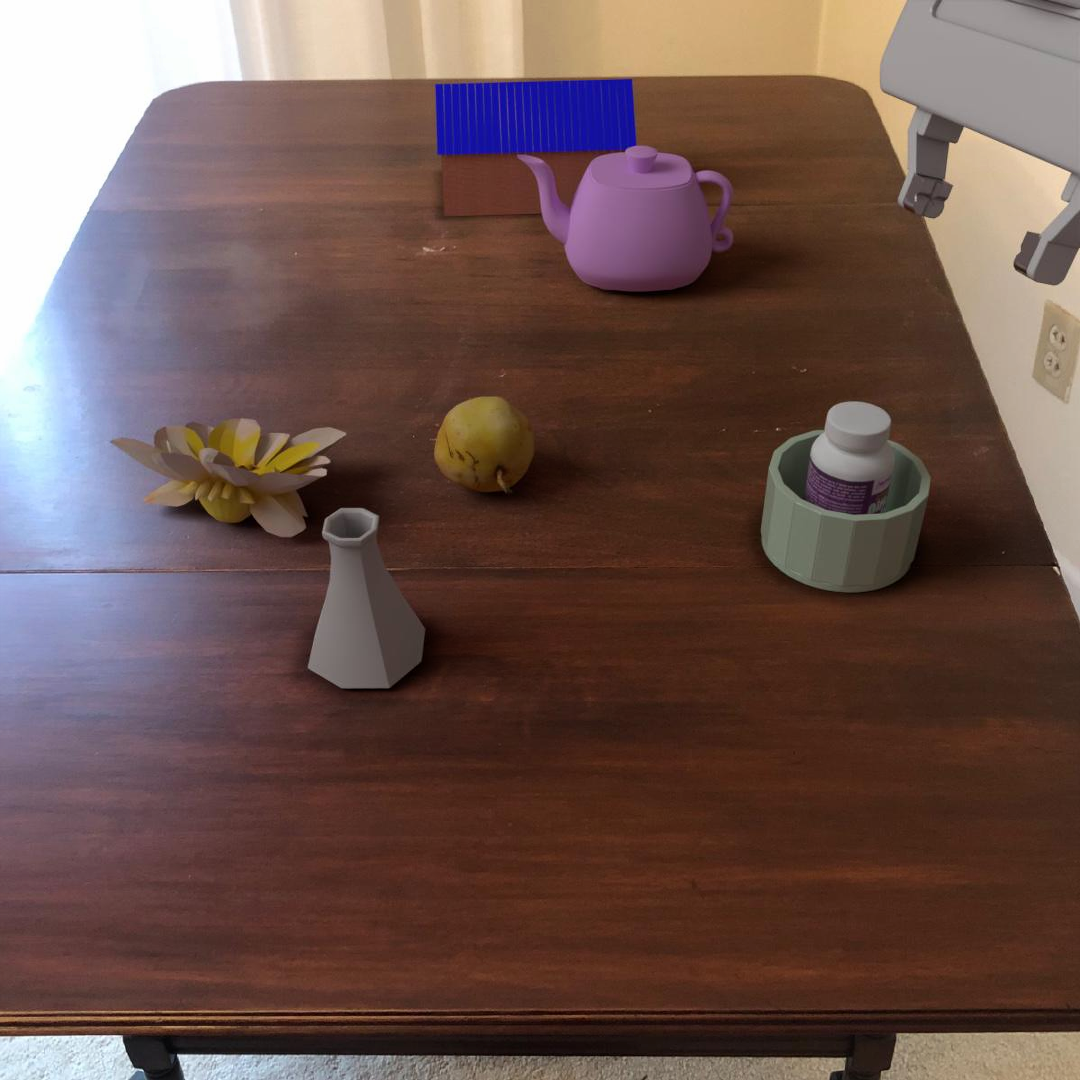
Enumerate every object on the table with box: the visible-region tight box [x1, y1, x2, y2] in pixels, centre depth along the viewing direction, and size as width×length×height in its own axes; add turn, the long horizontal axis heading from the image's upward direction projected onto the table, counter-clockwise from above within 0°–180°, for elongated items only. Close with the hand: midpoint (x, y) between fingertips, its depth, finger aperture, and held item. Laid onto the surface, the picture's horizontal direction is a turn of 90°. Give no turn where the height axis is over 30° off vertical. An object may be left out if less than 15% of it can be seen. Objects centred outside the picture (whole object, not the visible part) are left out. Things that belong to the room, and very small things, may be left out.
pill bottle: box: [804, 400, 895, 515], centre depth 80 cm, size 5×5×10 cm
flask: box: [307, 507, 426, 689], centre depth 72 cm, size 7×7×10 cm
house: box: [434, 78, 637, 217], centre depth 127 cm, size 12×20×12 cm, turn 93°
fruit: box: [433, 394, 535, 495], centre depth 87 cm, size 7×7×10 cm
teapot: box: [517, 145, 734, 293], centre depth 112 cm, size 20×13×12 cm, turn 89°
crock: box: [760, 429, 932, 594], centre depth 81 cm, size 10×10×6 cm
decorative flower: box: [109, 417, 347, 538], centre depth 85 cm, size 15×11×10 cm
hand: (972, 243), depth 57 cm, fingers open, 8 cm apart
